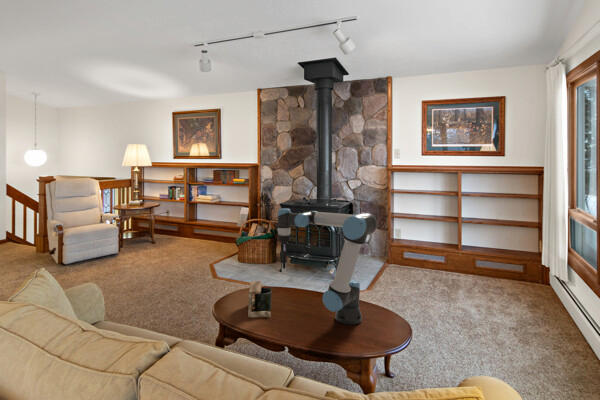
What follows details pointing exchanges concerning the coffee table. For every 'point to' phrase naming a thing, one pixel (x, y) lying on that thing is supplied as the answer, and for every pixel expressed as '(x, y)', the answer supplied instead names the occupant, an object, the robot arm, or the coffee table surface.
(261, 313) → the wooden u-frame
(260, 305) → the mug
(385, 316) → the coffee table surface
